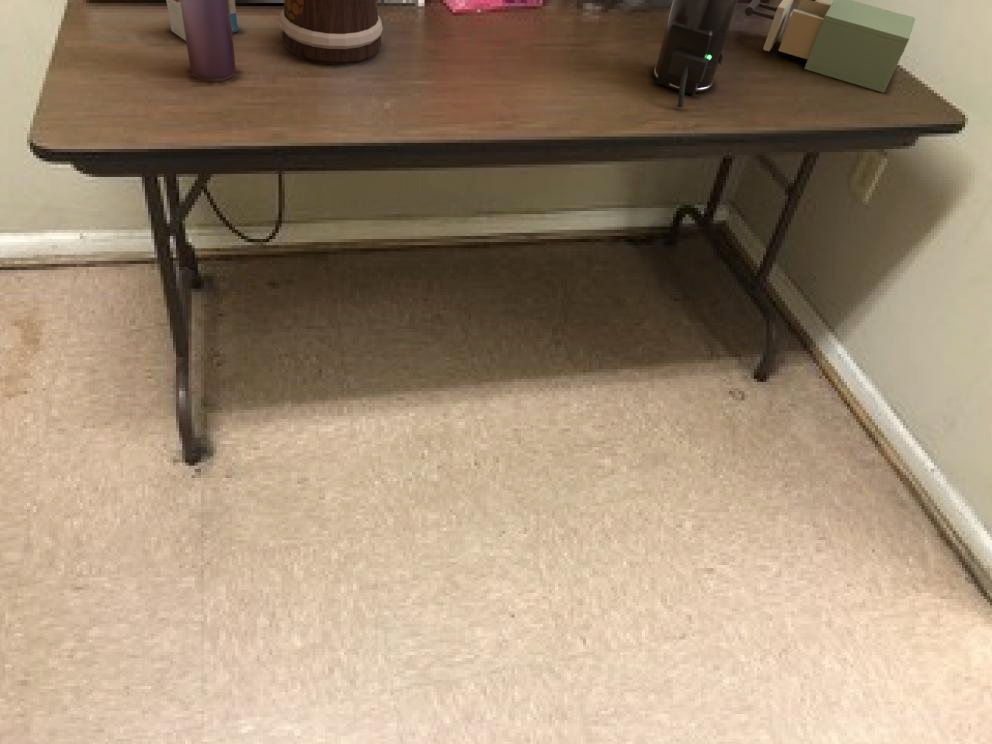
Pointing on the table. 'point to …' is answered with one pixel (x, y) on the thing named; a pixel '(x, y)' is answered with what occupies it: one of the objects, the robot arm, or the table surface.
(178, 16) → the ink box
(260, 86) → the table surface
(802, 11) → the block
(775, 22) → the drawer
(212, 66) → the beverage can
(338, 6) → the mug
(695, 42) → the robot arm
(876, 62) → the cabinet
